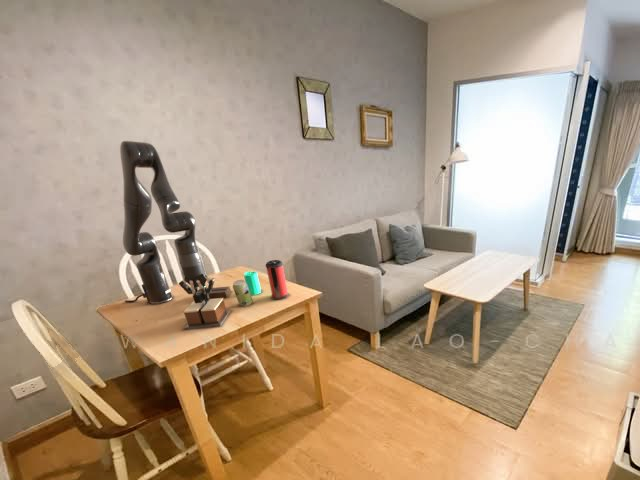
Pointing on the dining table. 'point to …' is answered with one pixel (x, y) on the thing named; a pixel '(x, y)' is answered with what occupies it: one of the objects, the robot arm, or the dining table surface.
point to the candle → (252, 282)
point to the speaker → (277, 279)
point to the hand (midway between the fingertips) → (203, 301)
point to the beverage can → (242, 292)
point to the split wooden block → (206, 314)
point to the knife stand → (219, 292)
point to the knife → (200, 299)
